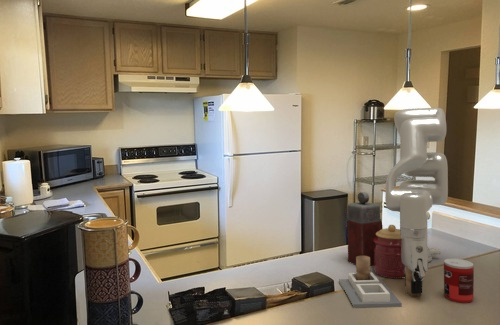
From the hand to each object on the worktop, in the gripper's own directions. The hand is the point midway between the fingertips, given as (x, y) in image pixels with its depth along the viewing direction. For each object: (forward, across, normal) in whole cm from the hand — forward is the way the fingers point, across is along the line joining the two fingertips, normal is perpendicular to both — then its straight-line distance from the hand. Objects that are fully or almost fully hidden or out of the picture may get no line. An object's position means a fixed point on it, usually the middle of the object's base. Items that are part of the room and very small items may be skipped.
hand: (413, 289), depth 123 cm
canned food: (+2, -4, -12) cm, 13 cm away
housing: (+1, +1, +14) cm, 14 cm away
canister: (+2, +19, 0) cm, 19 cm away
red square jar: (+2, +31, +6) cm, 32 cm away
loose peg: (+1, 0, 0) cm, 1 cm away
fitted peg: (0, +6, +14) cm, 15 cm away
